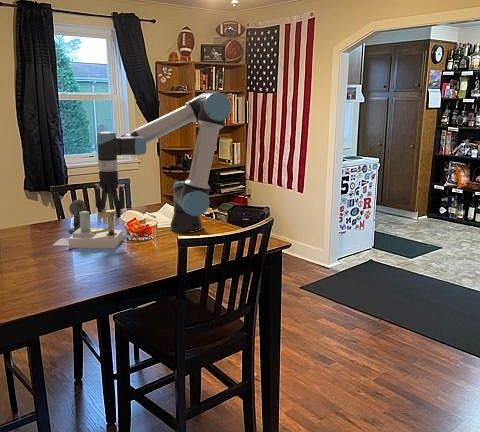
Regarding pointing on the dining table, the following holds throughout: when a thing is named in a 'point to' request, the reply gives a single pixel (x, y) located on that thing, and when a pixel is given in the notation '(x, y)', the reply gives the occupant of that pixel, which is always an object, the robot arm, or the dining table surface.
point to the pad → (62, 242)
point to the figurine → (76, 213)
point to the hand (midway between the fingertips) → (111, 224)
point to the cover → (84, 226)
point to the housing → (97, 240)
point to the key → (110, 221)
